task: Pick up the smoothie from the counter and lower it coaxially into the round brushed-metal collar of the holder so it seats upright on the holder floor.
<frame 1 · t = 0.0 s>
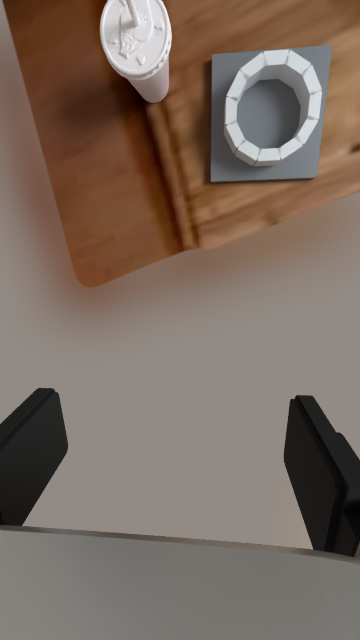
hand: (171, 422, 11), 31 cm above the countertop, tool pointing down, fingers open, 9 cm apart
holder: (264, 121, 34), on the countertop
smoothie: (153, 85, 34), on the countertop
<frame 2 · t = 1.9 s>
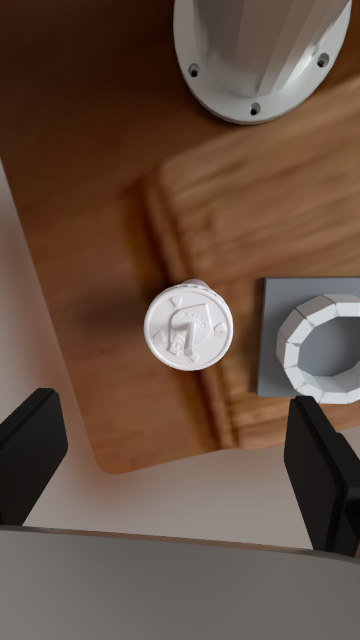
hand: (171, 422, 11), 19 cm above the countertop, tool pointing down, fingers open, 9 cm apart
holder: (324, 338, 29), on the countertop
smoothie: (193, 296, 29), on the countertop
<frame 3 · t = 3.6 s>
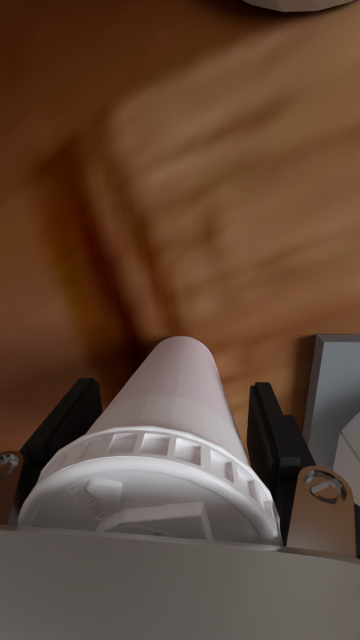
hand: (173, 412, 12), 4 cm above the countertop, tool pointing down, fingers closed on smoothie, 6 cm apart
smoothie: (181, 365, 16), on the countertop, touching gripper
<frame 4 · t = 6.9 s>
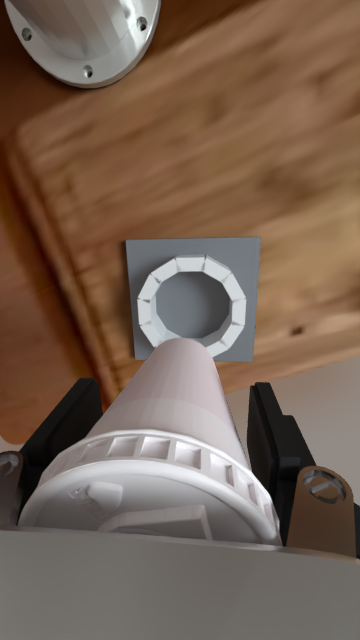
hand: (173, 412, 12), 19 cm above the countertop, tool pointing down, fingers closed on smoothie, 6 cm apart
holder: (192, 301, 30), on the countertop
smoothie: (181, 366, 16), point 15 cm above the countertop, touching gripper
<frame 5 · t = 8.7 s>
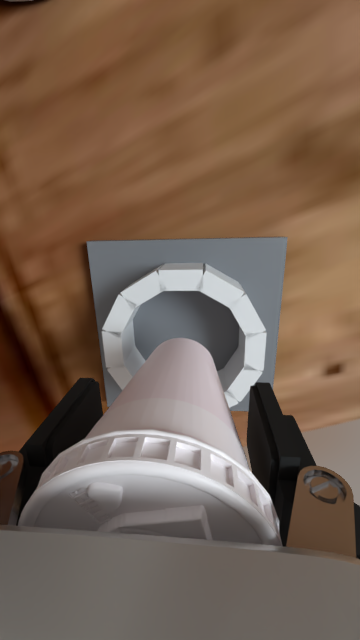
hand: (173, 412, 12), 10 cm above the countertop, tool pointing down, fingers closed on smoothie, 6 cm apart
holder: (186, 328, 21), on the countertop
smoothie: (181, 366, 16), point 6 cm above the countertop, touching gripper
when the fingers open (6 cm above the countertop, at t = 10.3 s): smoothie stays where it is, resting on holder.
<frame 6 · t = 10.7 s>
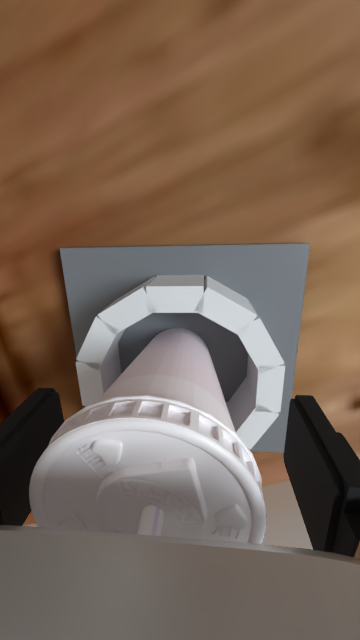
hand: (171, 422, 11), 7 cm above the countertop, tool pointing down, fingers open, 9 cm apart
holder: (183, 352, 17), on the countertop
smoothie: (178, 356, 17), point 1 cm above the countertop, touching holder
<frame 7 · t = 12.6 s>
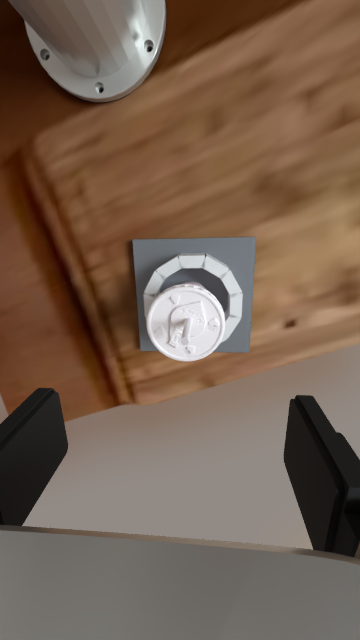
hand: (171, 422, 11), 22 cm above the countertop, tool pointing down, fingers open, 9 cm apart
holder: (193, 296, 32), on the countertop
smoothie: (191, 297, 31), point 1 cm above the countertop, touching holder
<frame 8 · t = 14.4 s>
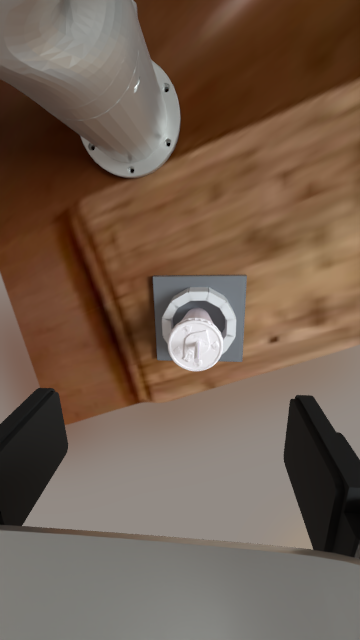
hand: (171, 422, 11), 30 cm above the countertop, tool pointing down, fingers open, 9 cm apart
holder: (199, 318, 41), on the countertop
smoothie: (197, 319, 41), point 1 cm above the countertop, touching holder
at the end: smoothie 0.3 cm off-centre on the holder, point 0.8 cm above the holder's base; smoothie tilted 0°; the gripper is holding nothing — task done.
